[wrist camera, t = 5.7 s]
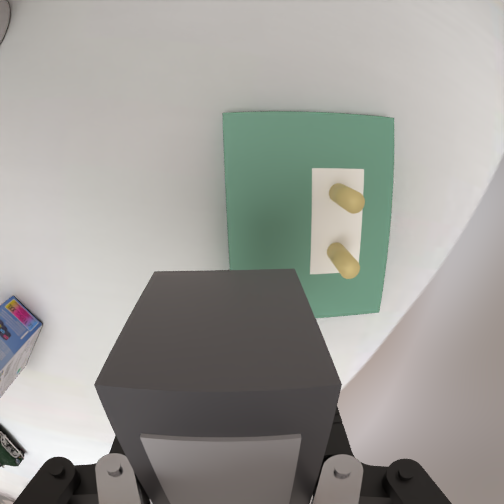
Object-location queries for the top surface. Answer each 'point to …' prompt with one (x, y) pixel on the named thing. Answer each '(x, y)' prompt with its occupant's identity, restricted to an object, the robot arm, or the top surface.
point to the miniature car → (9, 452)
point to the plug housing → (222, 388)
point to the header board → (312, 202)
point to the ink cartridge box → (15, 340)
